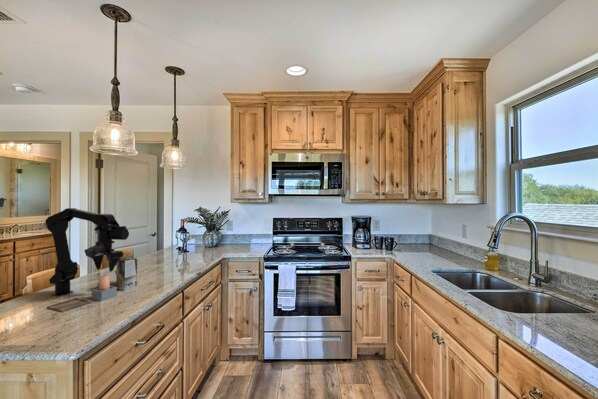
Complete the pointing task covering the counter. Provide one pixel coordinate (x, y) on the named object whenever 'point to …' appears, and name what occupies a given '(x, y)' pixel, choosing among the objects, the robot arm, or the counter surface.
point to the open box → (104, 293)
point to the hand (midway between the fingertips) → (104, 270)
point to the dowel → (104, 283)
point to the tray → (69, 304)
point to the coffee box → (127, 273)
